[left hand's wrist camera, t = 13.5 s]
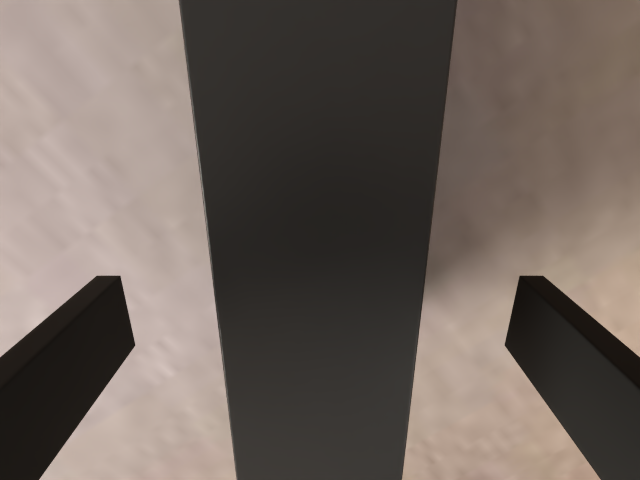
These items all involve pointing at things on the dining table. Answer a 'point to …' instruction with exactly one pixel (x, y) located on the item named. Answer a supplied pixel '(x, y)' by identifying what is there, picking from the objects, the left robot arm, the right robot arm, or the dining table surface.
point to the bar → (318, 219)
